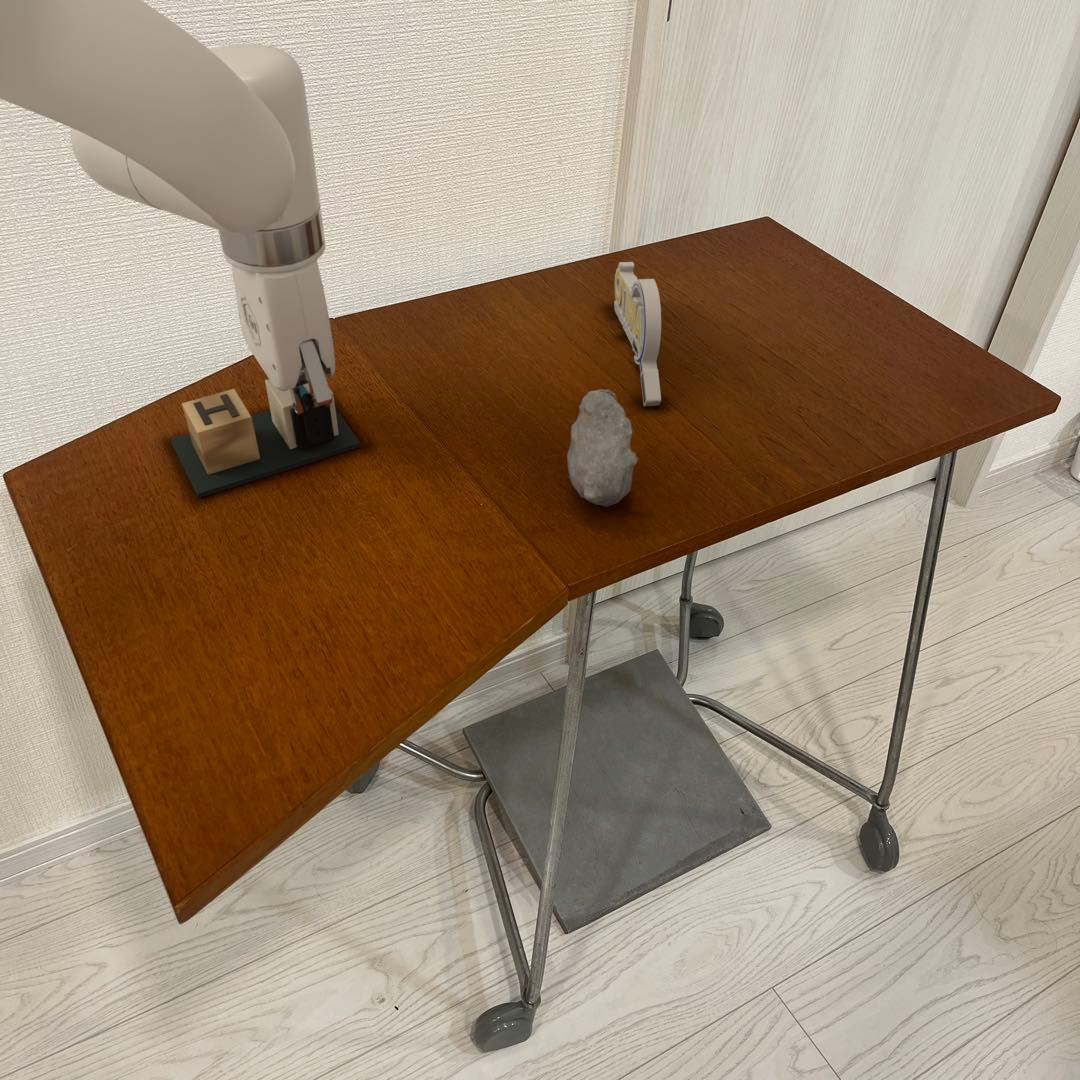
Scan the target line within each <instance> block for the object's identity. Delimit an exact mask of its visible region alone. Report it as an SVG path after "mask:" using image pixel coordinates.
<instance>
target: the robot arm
mask: <svg viewBox="0 0 1080 1080" xmlns="http://www.w3.org/2000/svg"><path fill="white" fill-rule="evenodd" d="M0 100H3V101H5V102H8V103H10V104H12V105H15V106H17V107H20V108H21V109H22V108H23V109H24V110H26V111H29V112H32V113H35V114H37V115H40V116H43V117H45V118H47V119H49V120H52V121H55V122H57V123H60V124H62V125H64V126H67V127H68V128H69V130H70V131H69V135H70V145H71V149H72V151H73V155H74V157H75V158H76V161H77V163H78V164H79V166H80V167H81V168H82V170H83V171H84V173H86V175H87V176H88V177H89V178H90V179H92V181H94V182H95V183H97V185H99V186H100V187H102V188H103V189H105V190H107V191H109V192H111V193H113V194H115V195H117V196H120V197H123V198H126V199H129V200H131V201H133V202H136V203H139V204H142V205H145V206H148V207H150V208H154V209H156V210H160V211H164V212H167V213H170V214H173V215H176V216H179V217H181V218H184V219H187V220H191V221H193V222H196V223H198V224H201V225H204V226H206V227H209V228H212V229H215V230H217V231H218V235H219V240H220V245H221V249H222V254H223V258H224V259H225V261H226V263H228V264H230V265H231V272H232V278H233V285H234V292H235V293H234V294H235V298H236V299H235V300H236V305H237V311H238V318H239V323H240V330H241V334H242V337H243V339H244V342H245V343H246V345H247V347H248V349H249V351H250V352H251V354H252V355H253V356H254V358H255V359H256V361H257V364H259V366H260V367H261V369H262V370H263V372H264V374H265V375H266V376H267V378H268V379H270V381H271V382H272V383H273V385H274V386H275V387H276V388H278V389H280V390H282V391H287V389H289V390H290V394H291V398H292V402H293V406H294V408H293V409H290V413H291V418H292V424H293V429H294V435H295V440H296V445H297V446H298V448H299V449H300V450H303V449H307V448H310V447H313V446H316V445H319V444H323V443H326V442H329V441H332V440H333V439H334V432H333V425H332V418H331V411H330V403H332V396H331V393H330V390H331V389H330V390H329V388H330V386H329V384H328V380H327V378H329V379H331V378H332V377H333V376H334V375H335V373H336V356H335V347H334V346H335V345H334V341H333V340H334V339H333V333H332V328H331V326H332V325H331V321H330V317H329V310H328V305H327V299H326V294H325V290H324V284H323V280H322V275H321V271H320V268H319V262H318V259H320V258H321V256H322V255H323V254H324V252H325V250H326V245H327V244H326V239H325V238H326V237H325V230H324V223H323V215H322V208H321V201H320V200H321V199H320V194H319V193H320V192H319V185H318V177H317V170H316V163H315V155H314V148H313V147H314V145H313V139H312V133H311V124H310V116H309V109H308V108H309V107H308V100H307V93H306V85H305V81H304V75H303V72H302V69H301V67H300V65H299V64H298V61H297V60H296V59H295V58H294V57H293V56H292V55H291V54H289V53H288V52H287V51H285V50H283V49H281V48H278V47H276V46H271V45H266V44H262V43H261V44H260V43H259V44H258V43H235V44H227V45H223V46H219V47H215V48H212V49H209V48H208V47H207V46H205V45H204V43H201V42H200V41H199V40H197V39H196V38H195V37H194V36H193V35H191V34H190V33H188V31H186V30H184V29H183V28H182V27H181V26H179V25H178V24H176V23H175V22H174V21H172V20H171V19H169V18H168V17H166V16H165V15H163V14H162V13H161V12H159V11H158V10H156V9H155V8H153V7H152V6H151V5H150V4H147V3H145V2H144V1H143V0H0ZM301 370H304V372H302V373H300V371H301ZM326 377H327V378H326ZM304 384H308V386H309V390H310V392H309V393H306V394H303V396H302V397H301V394H300V390H299V386H301V385H304Z"/></svg>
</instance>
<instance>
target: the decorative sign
mask: <svg viewBox="0 0 1080 1080" xmlns="http://www.w3.org/2000/svg"><path fill="white" fill-rule="evenodd" d="M634 270H635V263H634V261H622V262H621V261H620V262H618V266H617V268H616V270H615V275H614V298H615V300H614V302H613V303H614V307H613V308H614V312H615V314H616V316H617V318H618V320H619V322H620V324H621V326H622V329H623V331H624V332H625V334H626V336H627V338H628V340H629V343H630V345H631V348H632V352H634V354H635V355H634V356H633V360H634V362H635V364H636V365H639V372H640V386H641V396H642V403H643V407H659V406H660V405H661V402H662V393H661V386H660V376H659V369H658V365H657V363H658V362H657V360H658V358H659V353H660V347H661V339H662V305H661V298H660V291H659V288H658V285H657V282H656V280H655V278H641V279H640V278H639V279H638V277H637V275H636V274H634V273H635V272H634Z"/></svg>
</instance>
